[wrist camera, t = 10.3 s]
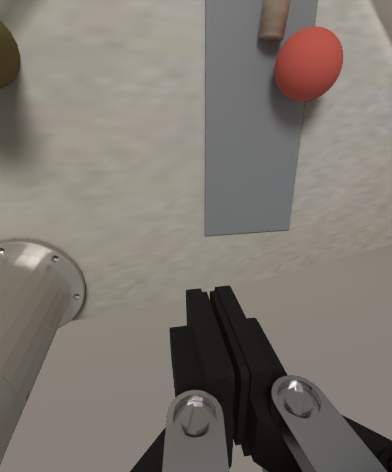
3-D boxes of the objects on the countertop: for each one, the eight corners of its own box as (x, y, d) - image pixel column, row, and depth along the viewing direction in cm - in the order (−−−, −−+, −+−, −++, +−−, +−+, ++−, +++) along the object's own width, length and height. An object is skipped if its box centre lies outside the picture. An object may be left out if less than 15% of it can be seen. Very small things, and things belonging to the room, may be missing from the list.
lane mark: (287, 229, 36) (288, 229, 36) (204, 235, 35) (205, 235, 35) (317, -2, 27) (318, -3, 27) (205, -8, 26) (206, -9, 25)
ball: (285, 33, 29) (259, 93, 30) (303, 0, 23) (270, 76, 24) (338, 57, 29) (310, 115, 30) (369, 30, 23) (332, 104, 25)
